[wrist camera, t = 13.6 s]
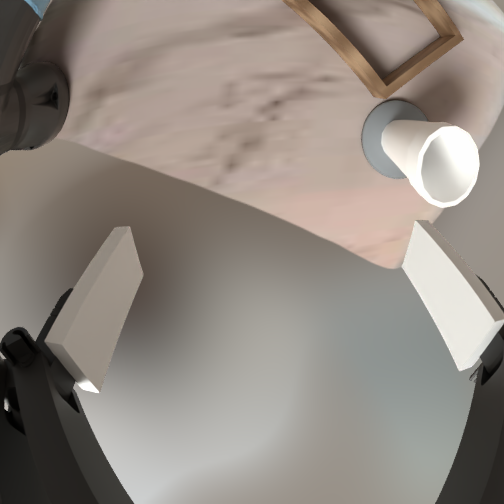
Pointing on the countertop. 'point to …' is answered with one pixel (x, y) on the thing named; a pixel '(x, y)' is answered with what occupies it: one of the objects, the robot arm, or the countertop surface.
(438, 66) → the countertop surface
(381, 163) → the rubber mat
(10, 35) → the robot arm
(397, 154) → the foam cup
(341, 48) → the frame
